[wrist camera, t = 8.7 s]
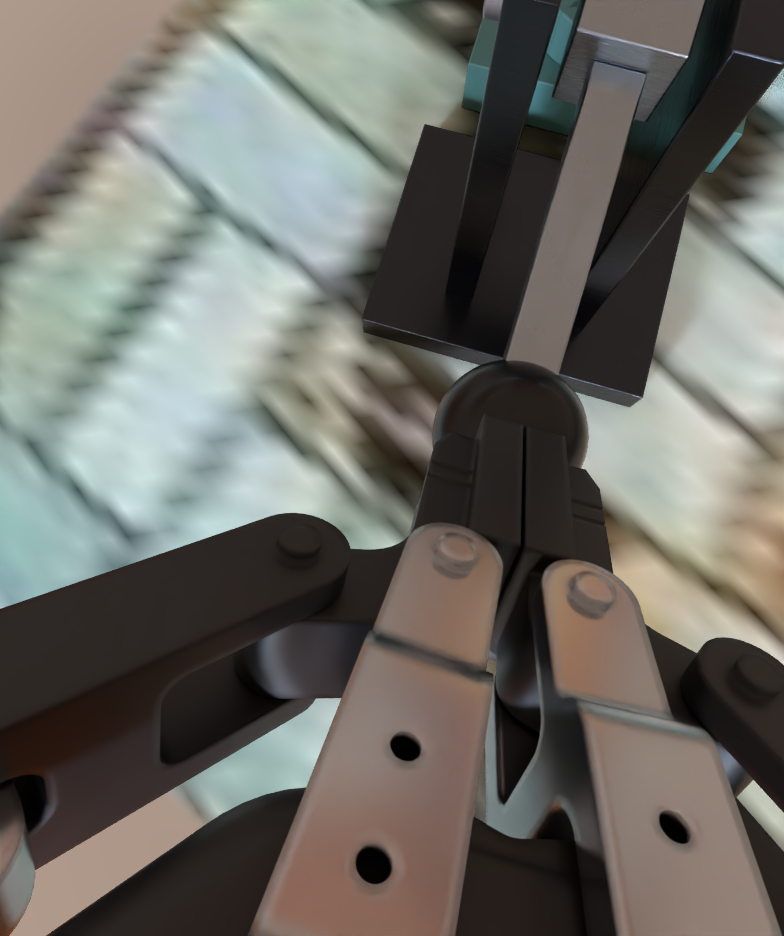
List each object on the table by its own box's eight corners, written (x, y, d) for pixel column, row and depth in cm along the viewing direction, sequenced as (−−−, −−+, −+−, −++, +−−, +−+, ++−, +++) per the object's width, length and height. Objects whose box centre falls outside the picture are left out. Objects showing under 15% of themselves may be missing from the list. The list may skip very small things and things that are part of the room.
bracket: (630, 408, 23) (921, 194, 10) (362, 332, 24) (335, 40, 11) (675, 212, 24) (981, -183, 12) (422, 145, 25) (459, -306, 12)
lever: (546, 522, 15) (579, 541, 12) (415, 484, 15) (412, 492, 12) (697, 18, 15) (773, -104, 11) (560, -17, 15) (597, -146, 12)
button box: (745, 24, 26) (809, -76, 22) (711, 174, 25) (773, 96, 21) (506, -37, 26) (527, -145, 23) (461, 108, 25) (475, 19, 21)
